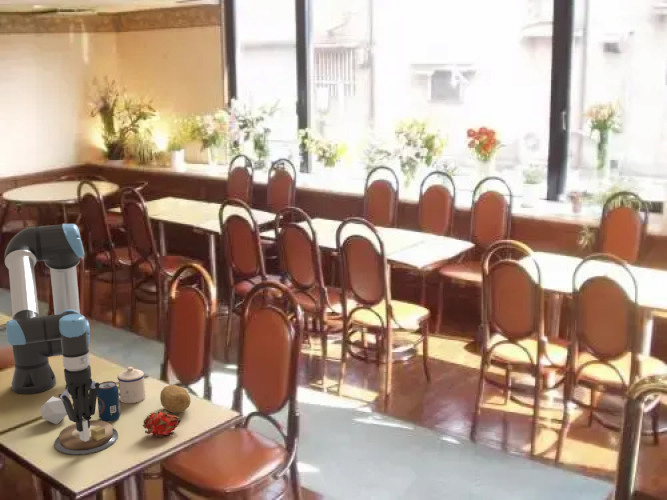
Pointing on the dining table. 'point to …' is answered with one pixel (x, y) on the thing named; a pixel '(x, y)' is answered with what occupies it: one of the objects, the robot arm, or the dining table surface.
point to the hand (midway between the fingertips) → (84, 439)
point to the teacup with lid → (131, 385)
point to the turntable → (97, 436)
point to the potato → (175, 399)
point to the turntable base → (86, 451)
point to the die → (53, 410)
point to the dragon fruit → (161, 423)
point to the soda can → (108, 401)
